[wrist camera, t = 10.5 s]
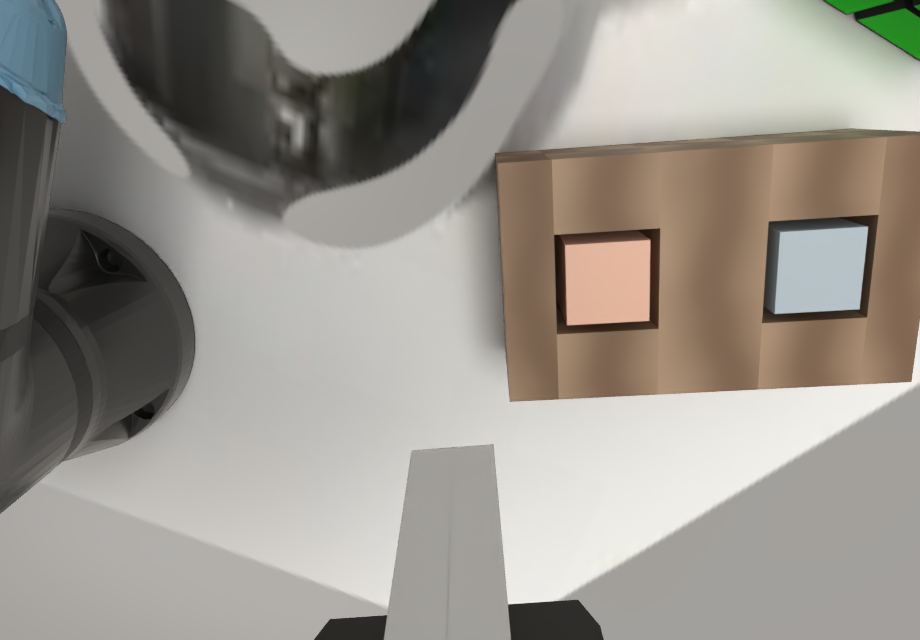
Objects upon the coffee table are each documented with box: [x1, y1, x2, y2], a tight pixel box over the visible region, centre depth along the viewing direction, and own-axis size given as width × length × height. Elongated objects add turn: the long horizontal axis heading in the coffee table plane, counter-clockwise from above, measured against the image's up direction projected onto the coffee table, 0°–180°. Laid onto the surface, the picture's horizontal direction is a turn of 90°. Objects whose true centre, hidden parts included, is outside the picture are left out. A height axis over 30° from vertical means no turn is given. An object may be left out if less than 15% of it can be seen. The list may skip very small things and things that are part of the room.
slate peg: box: [763, 217, 868, 314], centre depth 36 cm, size 4×4×8 cm
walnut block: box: [495, 129, 920, 402], centre depth 36 cm, size 20×12×8 cm, turn 94°
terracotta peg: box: [554, 230, 650, 325], centre depth 36 cm, size 4×4×8 cm
